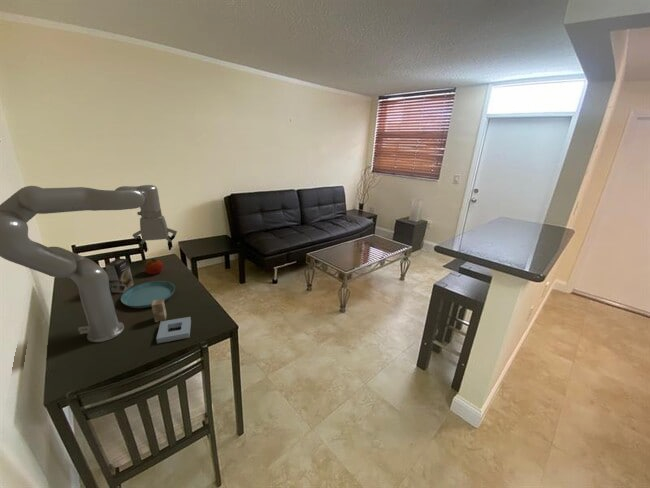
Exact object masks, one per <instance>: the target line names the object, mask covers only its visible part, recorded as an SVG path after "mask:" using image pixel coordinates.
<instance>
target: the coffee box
mask: <svg viewBox="0 0 650 488" xmlns="http://www.w3.org/2000/svg"><path fill="white" fill-rule="evenodd" d="M104 266H105V272H106V273H107V275H108V279H109V288H110V292H111V293H117V294H118V293H119V294H124V293H125V292H126V291H127V290H129V289H131V288H133V287H134V279H133V275H132V271H131V267H130V262H129V259H128V258H116V259H114V260H112V261H110V262H108V263H107V264H105V265H104Z"/></svg>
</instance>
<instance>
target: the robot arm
mask: <svg viewBox="0 0 650 488" xmlns="http://www.w3.org/2000/svg"><path fill="white" fill-rule="evenodd" d="M138 208H139V209H140V211H137V216H140V218H139V226H140V229H139V230H138V231H136V232H134V233H133V234H132V237H133V238H134V239H135V241H137V242H138V243H140V245H141V247H142V250H143V251H144V253H147V252H148V250H149V249H148V244H147V242H146V241H157V240H160V241H161V240H166V241H167V248H168V250H169V251H171V250H172V248H173V242H172V241H173V240H174V239H175V237H176V236H177V232H178V231H177V230H175V229H172V228H168V225H167V221H166V219H165V216H164V215H163V214H162V208H161V203H160V197H159V190H158V187H157V186H155V185H153V184H151V185H150V184H144V185H139V186H131V185H129V186H127V185H124V186H122V185H121V186H119V187H117V188H115V189H114V190H113V189H111V190H110V189H109V190H108V189H106V190H105V189H98V188H97V189H96V188H91V187H85V186H74V187H73V186H72V187H40V186H37V185H27V186H24V187H21V188H19V190H17V191H16V192H15V193H13V194H12V195H11V196H10V197H8V198H7V199H6V200H4V201H3V202H1V204H0V257H1V258H2V259H3V260H6V261H8V262H10V263H14V264H15V265H16V264H17V265H19V266H22V267H25V268H28V269H30V270H33V271H35V272H39V273H42V274H45V275H46V276H50V277H52V278H53V277H54V278H58V279H59V278H60V279H61V278H68V279H71V280H72V281H73V282H74V283H75V284H76V286H77V288H78V292H79V294H78V295H79V298H80V302H81V305H82V308H83V311H84V314H85V317H86V321H87V324H88V325H87V326H79V327H78V328H77V330H78V333H79V335H85V334H86V338H87V340H88V341H89V342H92V343H102V342H106V341H109V340H112V339H114V338H117V337H118V336H119V335H120V334H122V333H123V331H124V329H125V325H124V323H123V322H121V321H119V320H118V316H117V311H116V307H115V304H114V301H113V296H112V292H111V288H110V284H109V279H108V275H107V271H106V269H104V268H103V267H101V266H100V265H99V264H97V263H96V262H95V261H94V260H93V259H90V258H87V257H85V256H82V255H80V254H79V253H78V254H77V253H76V252H73V251H71V250H68V249H66V248H63V247H60V246H46V245H44V244H41V243H40V242H38V241H37V242H36V241H35V240H32V239H31V238H30V236H29V225H28V222H29V221H31V220H32V219H33V218H34V217H35V216H36V215H39V214H41V215H45V214H47V215H48V214H59V213H73V212H83V211H84V212H85V211H92V212H93V211H97V212H98V211H124V210H133V209H135V210H136V209H138ZM170 233H171V234H172V235H171V236H170V235H169V234H170ZM139 235H140V236H141V237H140V236H139Z"/></svg>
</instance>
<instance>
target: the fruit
mask: <svg viewBox="0 0 650 488" xmlns="http://www.w3.org/2000/svg"><path fill="white" fill-rule="evenodd" d="M163 269H164V264H163V262H162V261H161V260H159V259H156V258H151V259H150V260H148V261H147V262H145V265H144V270H145V271H146V273H148V274H149V275H155V276H156V275H158V274H160V273H161V272H162V271H163Z"/></svg>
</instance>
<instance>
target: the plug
mask: <svg viewBox="0 0 650 488" xmlns="http://www.w3.org/2000/svg"><path fill="white" fill-rule="evenodd" d="M151 309H152V315H153V318H154V320H153V321H154V323H160V322H161V321H167V315H168V314H167V309H166V304H165V301H164V299H160V300H153V303H152V307H151ZM159 321H160V322H159Z"/></svg>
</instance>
